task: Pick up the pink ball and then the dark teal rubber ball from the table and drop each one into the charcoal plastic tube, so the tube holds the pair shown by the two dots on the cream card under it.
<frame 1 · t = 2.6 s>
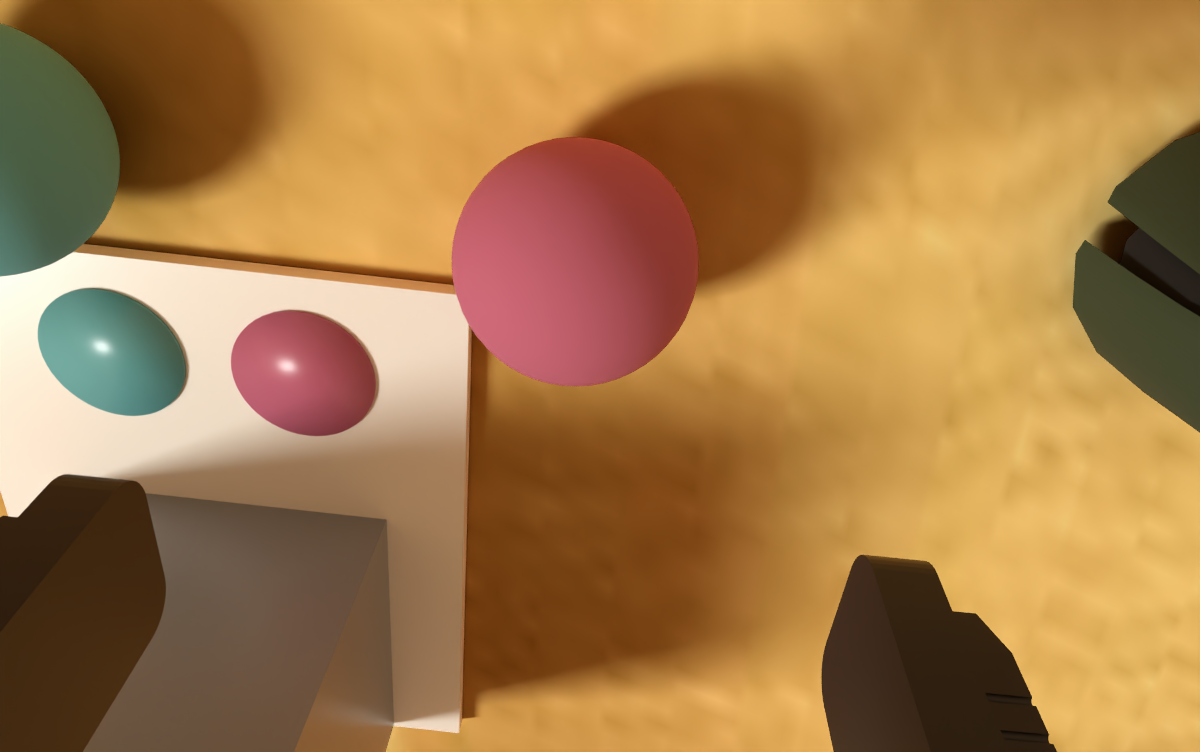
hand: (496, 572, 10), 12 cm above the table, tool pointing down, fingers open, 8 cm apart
pink ball: (575, 263, 18), point 2 cm above the table
tube card: (241, 514, 25), on the table
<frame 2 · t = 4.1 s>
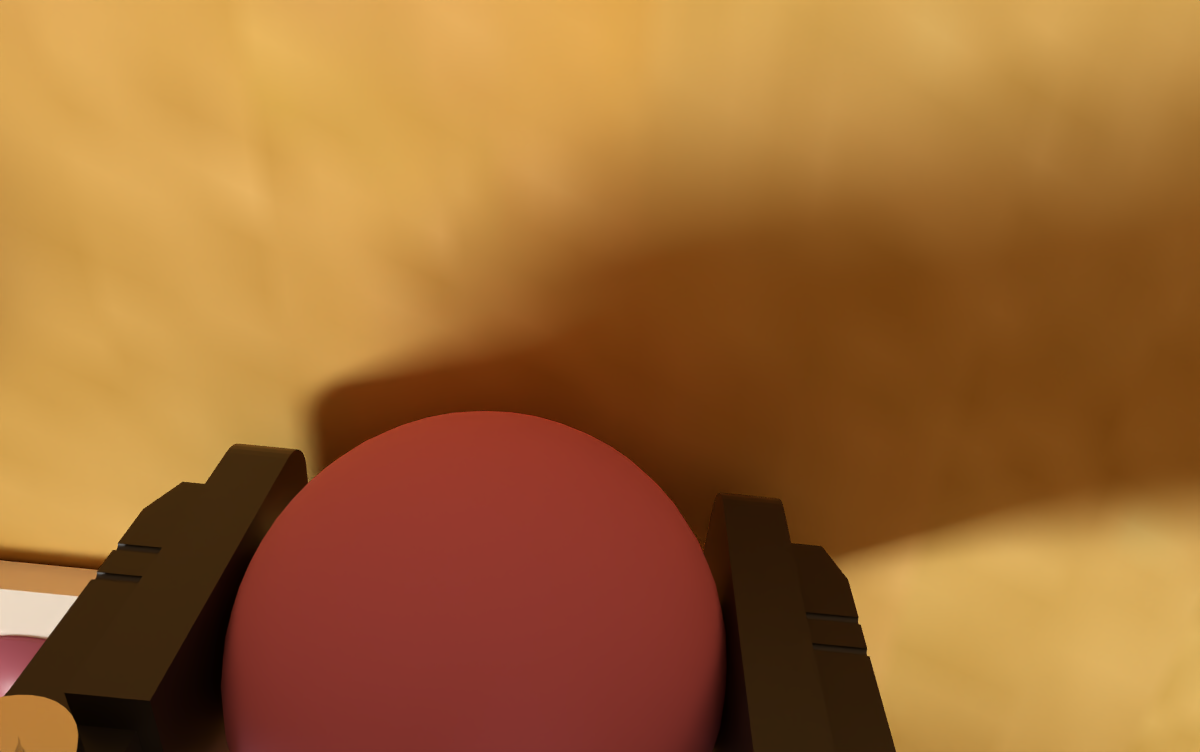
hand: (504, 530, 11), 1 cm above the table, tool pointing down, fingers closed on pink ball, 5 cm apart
pink ball: (483, 651, 9), point 2 cm above the table, touching gripper
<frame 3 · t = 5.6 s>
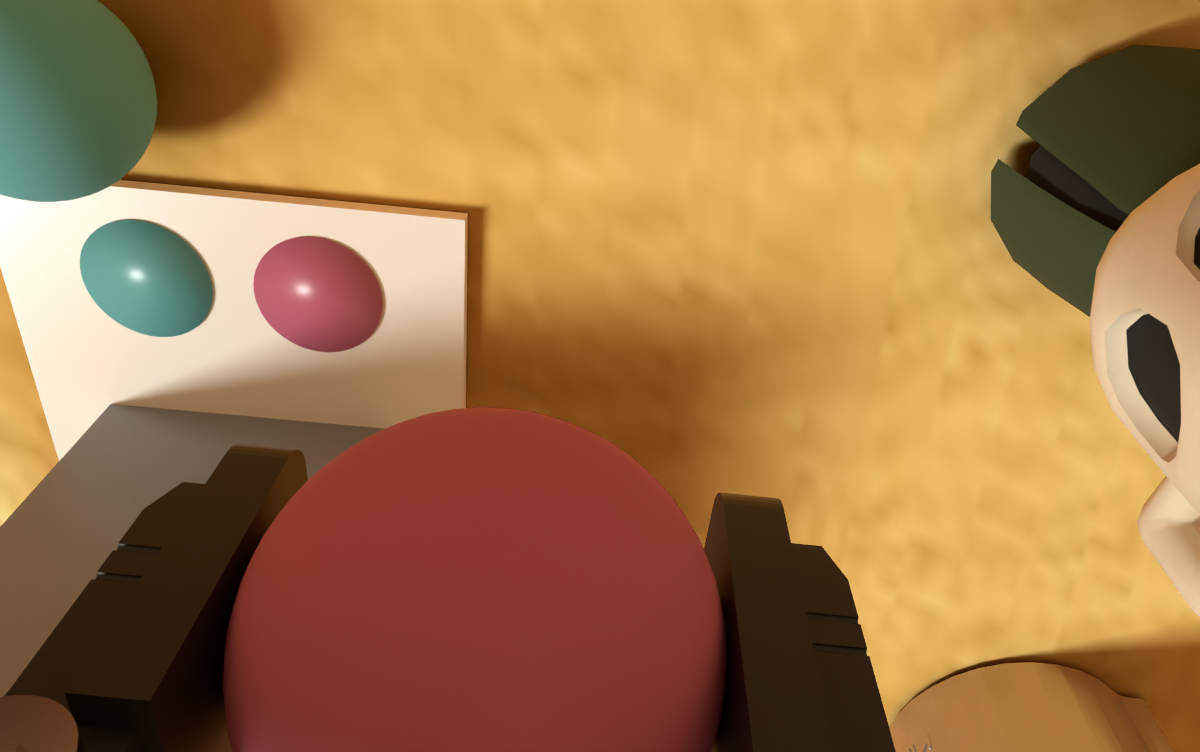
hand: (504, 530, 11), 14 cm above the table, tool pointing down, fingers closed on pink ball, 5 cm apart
pink ball: (484, 647, 9), point 16 cm above the table, touching gripper
character mug: (1103, 162, 23), on the table
tube card: (261, 429, 28), on the table
teal ball: (33, 89, 20), point 2 cm above the table
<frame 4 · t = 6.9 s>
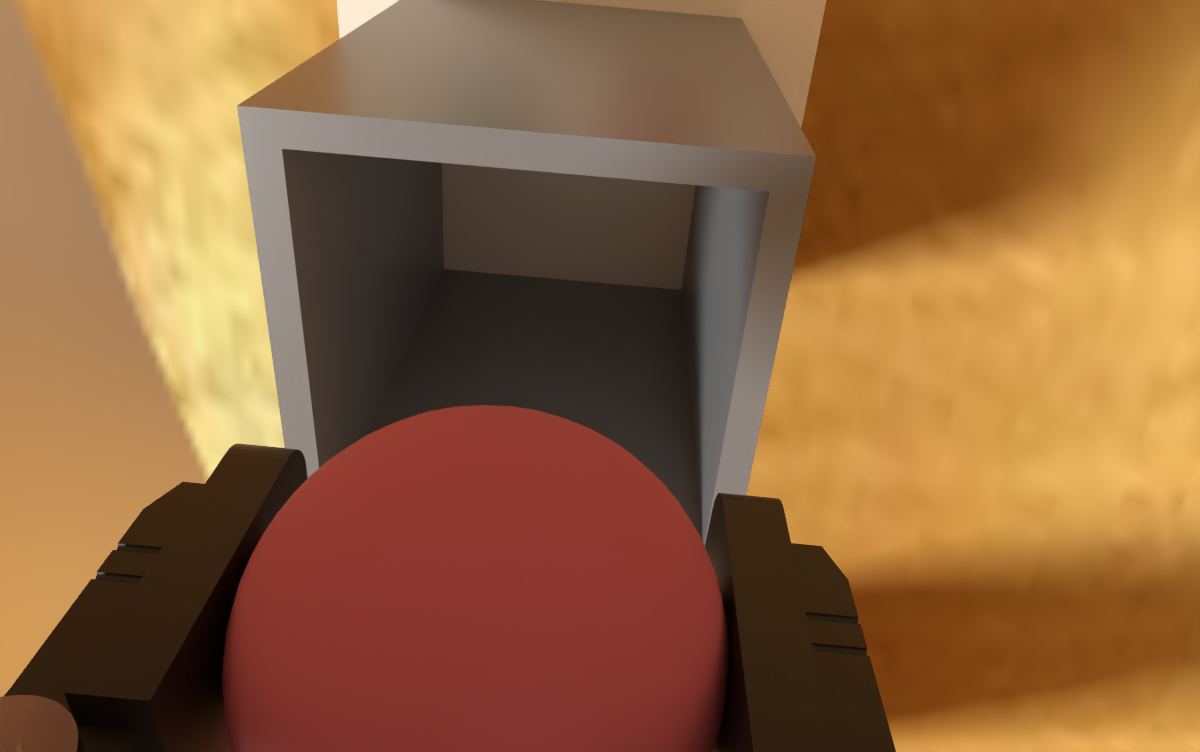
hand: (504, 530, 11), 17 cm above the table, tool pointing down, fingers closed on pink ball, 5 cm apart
pink ball: (485, 646, 9), point 19 cm above the table, touching gripper
tube card: (577, 33, 24), on the table
when the fingers open (14 cm above the table, at t = 7.9 s): pink ball drops 13 cm, resting on tube card.
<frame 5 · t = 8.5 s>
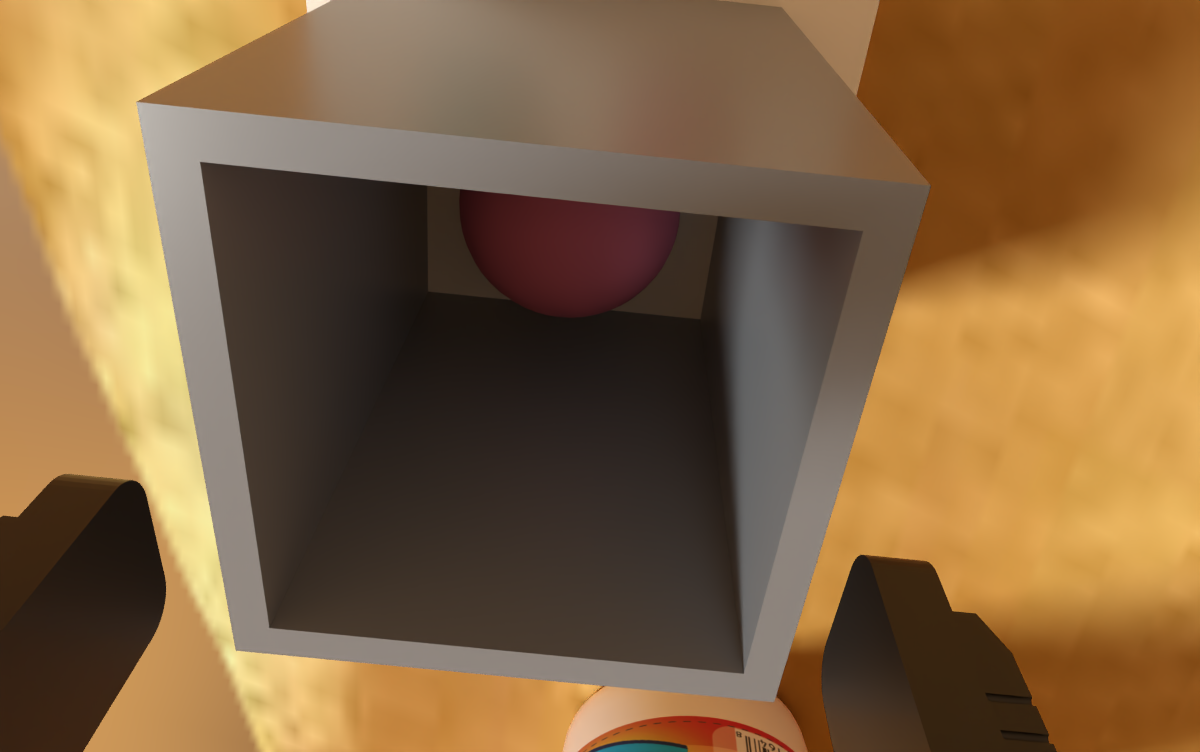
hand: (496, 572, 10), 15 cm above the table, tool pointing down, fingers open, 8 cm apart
pink ball: (570, 207, 20), point 3 cm above the table, touching tube card
tube card: (588, 22, 21), on the table
strawberry milk bottle: (682, 735, 35), on the table
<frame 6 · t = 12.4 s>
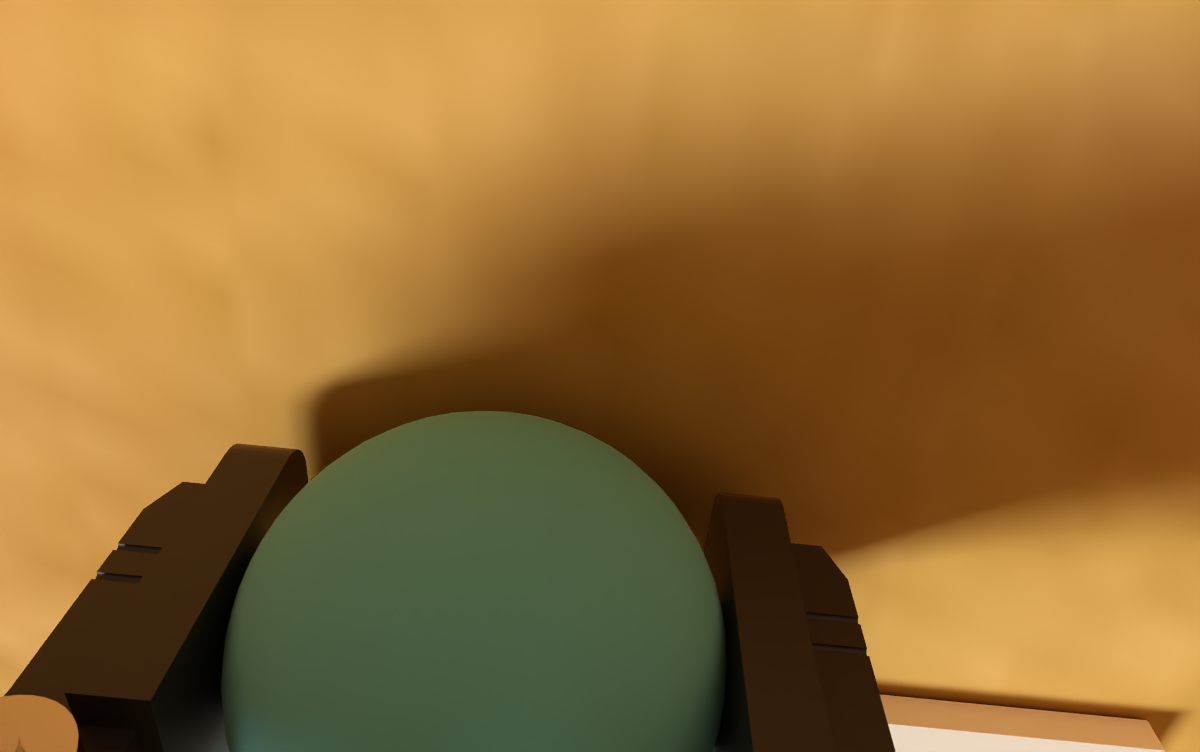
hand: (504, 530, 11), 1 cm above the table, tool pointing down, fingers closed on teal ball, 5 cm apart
teal ball: (483, 651, 9), point 2 cm above the table, touching gripper
when the fingers open (14 cm above the table, at t = 16.1 s): teal ball drops 8 cm and tips over, resting on pink ball, tube card.
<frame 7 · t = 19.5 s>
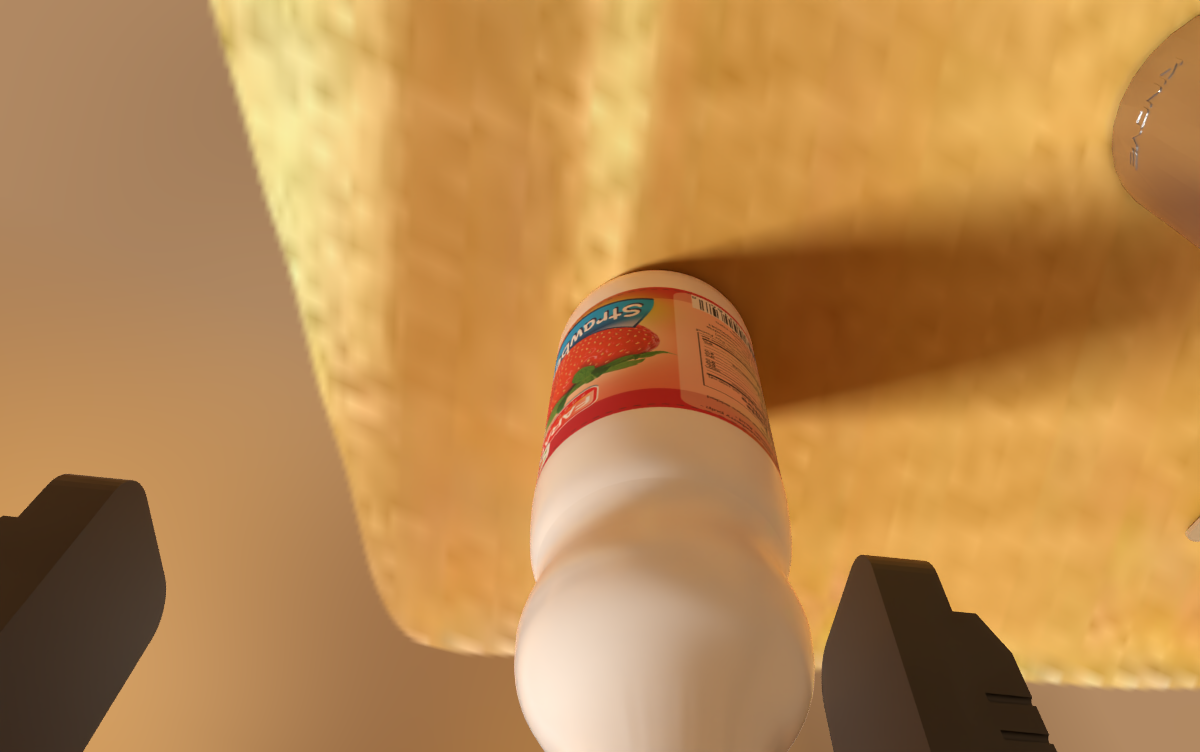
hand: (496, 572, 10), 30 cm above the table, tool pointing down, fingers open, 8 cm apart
strawberry milk bottle: (654, 349, 43), on the table
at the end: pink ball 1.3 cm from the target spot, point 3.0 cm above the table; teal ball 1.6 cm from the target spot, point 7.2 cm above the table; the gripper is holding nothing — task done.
